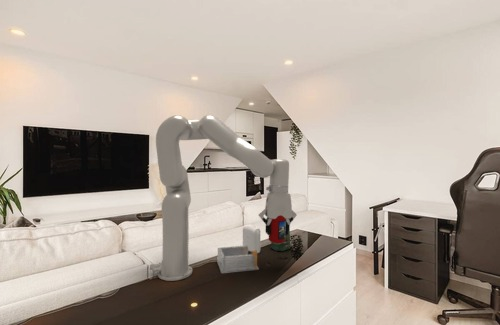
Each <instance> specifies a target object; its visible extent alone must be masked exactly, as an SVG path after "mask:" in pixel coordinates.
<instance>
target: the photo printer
mask: <svg viewBox="0 0 500 325" xmlns="http://www.w3.org/2000/svg"><path fill="white" fill-rule="evenodd" d="M242 246H248V252H250V253H252V250H257V254H259V253H260V252H261V230H260V228H259V227H258V226H256V225H254V224H245V225H243V227H242Z"/></svg>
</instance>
